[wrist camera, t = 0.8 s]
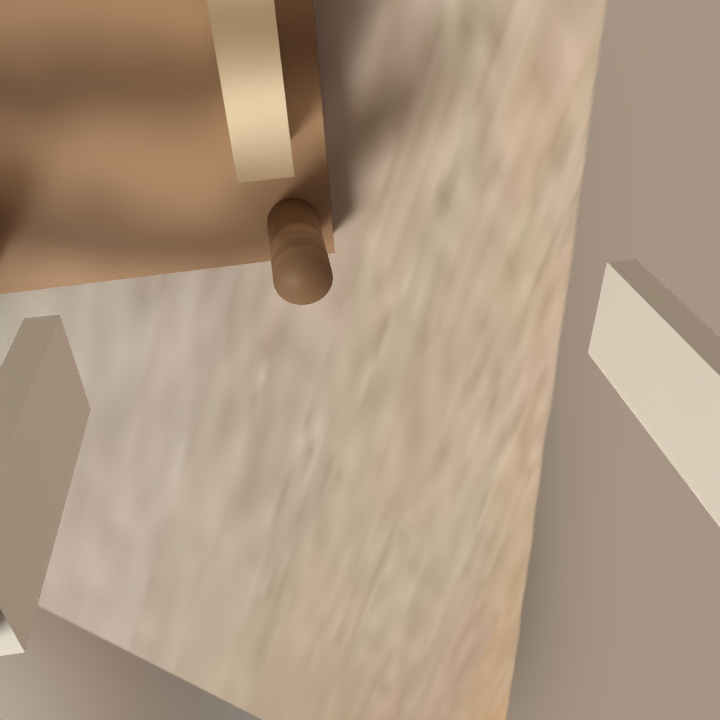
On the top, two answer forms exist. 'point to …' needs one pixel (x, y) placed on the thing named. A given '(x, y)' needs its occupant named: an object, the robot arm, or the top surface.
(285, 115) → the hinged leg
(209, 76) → the wooden peg board
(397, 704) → the top surface
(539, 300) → the top surface
